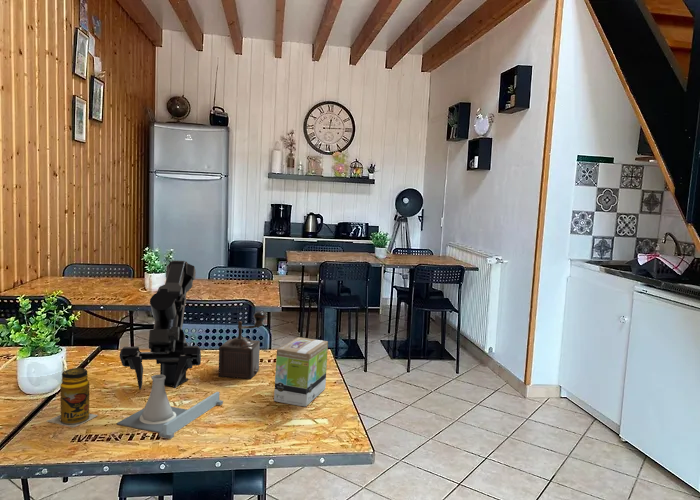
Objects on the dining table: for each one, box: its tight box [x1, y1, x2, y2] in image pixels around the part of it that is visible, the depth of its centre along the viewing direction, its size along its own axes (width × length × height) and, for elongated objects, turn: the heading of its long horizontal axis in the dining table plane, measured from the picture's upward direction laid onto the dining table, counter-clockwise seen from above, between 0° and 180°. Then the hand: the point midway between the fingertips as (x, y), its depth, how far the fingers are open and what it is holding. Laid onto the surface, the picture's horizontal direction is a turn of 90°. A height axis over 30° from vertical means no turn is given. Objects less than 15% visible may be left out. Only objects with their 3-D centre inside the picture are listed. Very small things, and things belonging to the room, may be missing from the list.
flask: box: [142, 374, 174, 422], centre depth 124 cm, size 7×7×10 cm
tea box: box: [273, 336, 329, 407], centre depth 143 cm, size 15×10×15 cm, turn 163°
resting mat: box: [116, 406, 188, 434], centre depth 124 cm, size 13×13×1 cm
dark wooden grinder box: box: [218, 311, 266, 380], centre depth 161 cm, size 16×11×18 cm
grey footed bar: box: [158, 391, 224, 440], centre depth 125 cm, size 3×22×3 cm, turn 163°
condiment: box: [46, 367, 99, 428], centre depth 121 cm, size 7×8×12 cm
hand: (157, 388), depth 122 cm, fingers open, 8 cm apart
